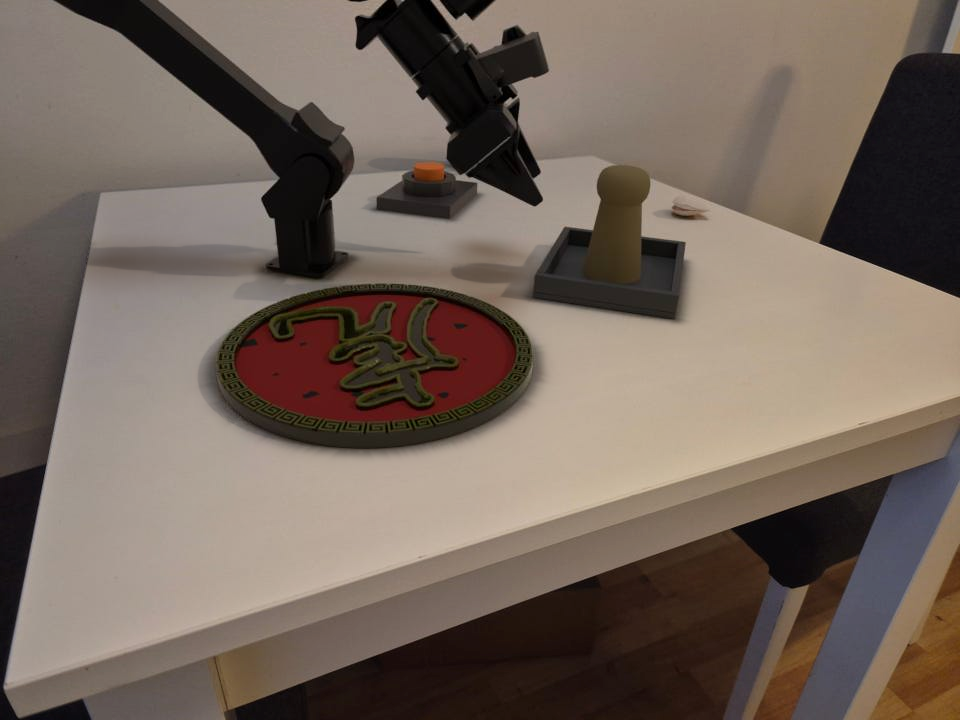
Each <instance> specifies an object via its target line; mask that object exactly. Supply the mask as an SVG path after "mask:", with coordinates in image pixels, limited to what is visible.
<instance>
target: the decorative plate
mask: <svg viewBox="0 0 960 720" xmlns="http://www.w3.org/2000/svg"><path fill="white" fill-rule="evenodd" d="M216 354H217V355H216V358H215V372H216V377H217V383H218V387H219V390H220V394H221V395H222V396H223V397H222V398H224V400H225V401H226V403H227V404H228V405H229V406H230V407H231V408H232V409H233V410H234V412H236V413H237V414H238V415H240V416H241V417H242V418H244V419H245V420H247V421H248V422H250V423H252V424H253V425H255V426H257V427H259V428H261V429H263V430H265V431H267V432H270V433H272V434H275V435H278V436H282V437H284V438H288V439H290V440H294V441H299V442H303V443H308V444H312V445H319V446H324V447H325V446H327V447H335V448H347V449H382V448H396V447H397V448H398V447H407V446H412V445H418V444H419V445H420V444H424V443H430V442H434V441H438V440H442V439H446V438H450V437H453V436H456V435H459V434H461V433H465V432H467V431H470V430H472V429H474V428H477V427H479V426H482V425H483V424H485V423H487V422H489V421H491V420H493V419H495V418H497V417H498V416H499V415H501V414H502V413H504V412H505V411H507V410H508V409H509V408H510V407H512V406H513V405H514V404H515V403H516V402H517V401H518V399H519V398H521V396H522V395H523V393H524V392H525V391H526V389H527V387H528V385H529V384H530V381H531V378H532V374H533V366H534V365H533V364H534V349H533V345H532V342H531V339H530V337H529V335H528V334H527V332H526V331H525V329H524V327H522V326H521V325H520V323H519V322H518V321H516V319H514V318H513V317H512V316H511V315H509V314H508V313H507V312H505V311H504V310H502V309H500V308H499V307H497V306H495V305H493V304H491V303H489V302H487V301H484V300H482V299H479V298H477V297H474V296H471V295H470V296H469V295H468V294H465V293H461V292H458V291H453V290H449V289H444V288H439V287H434V286H427V285H420V284H419V285H418V284H409V283H408V284H406V283H387V282H386V283H385V282H384V283H381V282H380V283H359V284H348V285H340V286H333V287H327V288H321V289H317V290H312V291H308V292H304V293H300V294H296V295H294V296H291V297H288V298H284V299H282V300H279V301H276V302H274V303H271V304H269V305H267V306H265V307H263V308H261V309H260V310H257V311H255V312H254V313H252V314H251V315H249V316H247V317H246V318H244V319H243V320H242V321H240V322H239V323H238V324H237V325H236V326H234V327H233V328H232V329H231V330H230V331H229V332H228V334H226V336H225V337H224V339H223V340H222V343H221V344H220V345H219V348H218V351H217V353H216Z"/></svg>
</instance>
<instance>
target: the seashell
mask: <svg viewBox="0 0 960 720" xmlns="http://www.w3.org/2000/svg"><path fill="white" fill-rule="evenodd" d="M672 204H673V205H672V206H671V209H672V211H673V212H674V213H675V214H676V215H679V216H682V217H683V216H684V217H689V216H690V217H691V216H696V215H700V214H704V213H707V212H709V211H711V209H710V208H709V206H708V205H707V204H706V203H705V202H704V201H702V200H701V199H699V198H698V197H696V196H693V195H692V194H691V195H690V194H680V195H677V196H676V197H674V199H673V200H672Z"/></svg>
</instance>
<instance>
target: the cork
mask: <svg viewBox="0 0 960 720" xmlns="http://www.w3.org/2000/svg"><path fill="white" fill-rule="evenodd" d="M651 184H652V183H651V177H650V175H649V172H647V171H646V170H645V169H643V168H641V167H637V166H633V165H629V164H614V165H609V166H606V167H604V168H603V169H602V170H601V172H600V173H599V175H598V178H597V180H596V193H597V195H598V197H599V199H600V201H599V206H598V209H597V213H596V217H595V221H594V225H593V229H592V230H593V232H592V236H591V240H590V244H589V248H588V252H587V256H586V260H585V264H584V268H583V273H584V275H586V276H587V277H588V278H590V279H593V280H595V281H601V282H608V283H615V284H629V283H633V282H636V281H638V280H639V279H640V277H641V236H642V230H643V229H642V228H643V223H642V221H643V203H644V202H645V201H646V200H647V199H648V197H649V194H650V191H651Z"/></svg>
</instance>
